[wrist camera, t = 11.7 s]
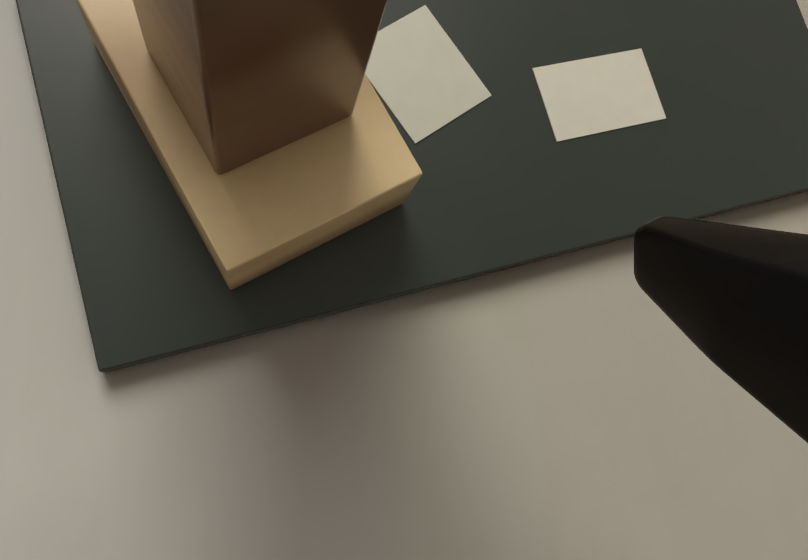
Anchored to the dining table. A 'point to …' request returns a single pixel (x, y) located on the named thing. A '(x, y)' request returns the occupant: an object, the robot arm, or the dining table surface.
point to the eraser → (259, 118)
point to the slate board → (443, 155)
